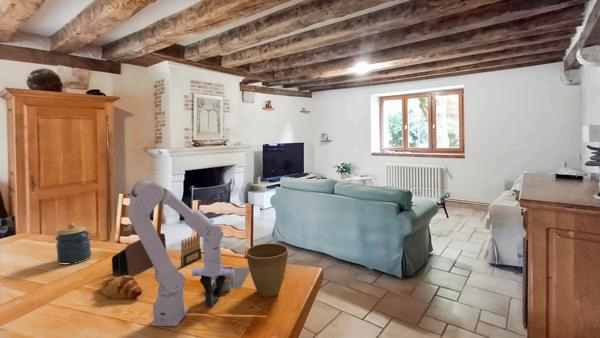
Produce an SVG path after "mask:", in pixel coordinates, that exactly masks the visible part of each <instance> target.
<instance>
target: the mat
mask: <svg viewBox="0 0 600 338" xmlns="http://www.w3.org/2000/svg"><path fill="white" fill-rule="evenodd" d="M233 269H234V270H235V275H234V284H233V285H231V289H238V290H239V289H241V288H242V286H243V284H244V282H245V281H246V279H247V277H248V276H249V273H250V269H249V267H233ZM211 280H215V276H213V277H212V278H211ZM203 289H205V288H204V286H203Z"/></svg>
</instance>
